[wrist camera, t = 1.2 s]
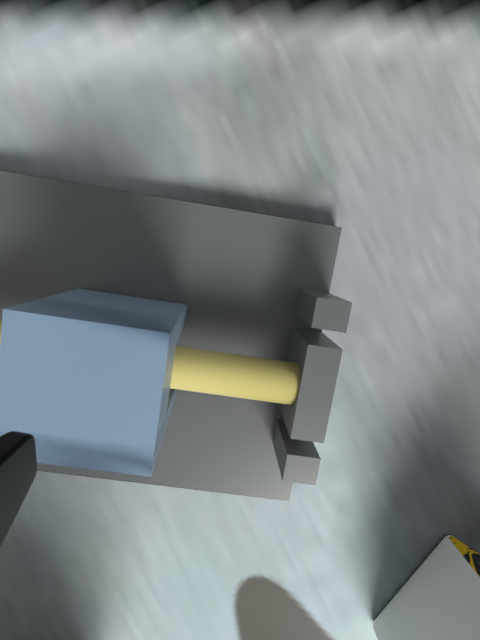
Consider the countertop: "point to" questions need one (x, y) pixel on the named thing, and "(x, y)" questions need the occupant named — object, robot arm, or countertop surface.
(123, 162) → the countertop surface
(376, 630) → the medicine bottle
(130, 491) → the countertop surface
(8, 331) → the sleeve
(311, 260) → the sliding rail with carriage
